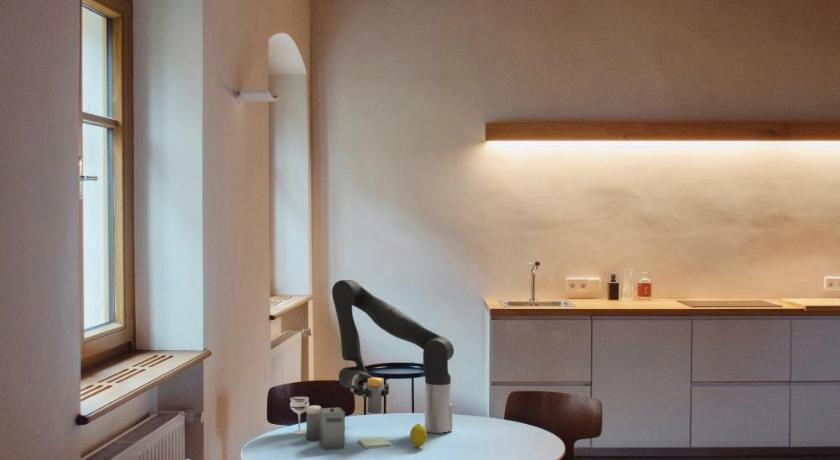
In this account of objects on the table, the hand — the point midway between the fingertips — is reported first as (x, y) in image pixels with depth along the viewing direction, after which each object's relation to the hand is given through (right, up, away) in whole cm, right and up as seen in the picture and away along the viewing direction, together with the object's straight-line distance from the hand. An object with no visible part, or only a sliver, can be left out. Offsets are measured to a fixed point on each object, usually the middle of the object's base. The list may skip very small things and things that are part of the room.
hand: (377, 393), depth 261 cm
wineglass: (-29, -17, +17) cm, 38 cm away
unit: (-15, -17, -1) cm, 23 cm away
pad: (-1, -17, +2) cm, 17 cm away
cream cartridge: (-22, -17, +8) cm, 29 cm away
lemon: (+14, -18, -2) cm, 22 cm away
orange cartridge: (-1, -6, +3) cm, 7 cm away
